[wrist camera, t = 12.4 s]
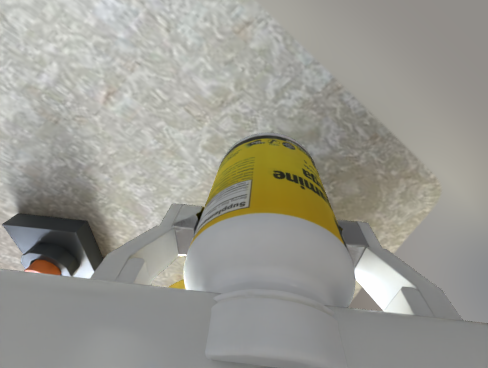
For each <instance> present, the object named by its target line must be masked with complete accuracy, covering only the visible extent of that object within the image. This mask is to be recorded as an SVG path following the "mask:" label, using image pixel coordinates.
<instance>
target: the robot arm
mask: <svg viewBox="0 0 488 368" xmlns="http://www.w3.org/2000/svg"><path fill="white" fill-rule="evenodd" d="M203 210H204V207H203V206H195V205H187V204H177V203H173V204H172V205H171V206H170V208H169V210H168V212H167V213H166V215H165V217H164V218H163V220H162V222H161V224H160V225H159V226H155V227H153V228H151V229H149V230H148V231H146V232H144V233H143V234H141V235H139V236H137V237H136V238H134V239H132V240H131V241H129V242H127V243H125V244H124V245H122V246H120V247H119V248H117V249H115V250H113V251H112V252H110V253H108V254H107V256H106V257H105V258H104V260H103V261H102V262H101V264H100V265H99V266H98V268H97V269H96V270H95V272H94V273H93V275H92V276H91V277H90V279H89V278H80V277H71V276H62V275H53V274H44V273H35V272H26V271H17V270H8V269H0V368H276V367H268V366H260V365H253V364H244V363H235V362H226V361H216V360H211V359H208V358H207V357H206V354H205V350H206V343H207V338H208V332H209V325H210V319H211V308H212V307H213V306H214V305H215V304H217V303H218V302H217V301H216V300H214V297H215V296H217V295H221V293H214V292H205V291H196V290H187V289H178V288H169V287H160V286H152V284H151V282H152V281H153V280H154V279H155V278H156V277H157V276H158V275H159V274H160V273H161V272H162V271H164V270H165V269H166V268H167V267H168V266H169V265H170V264H171V263H172V262H173V261H175V260H176V259H177V258H178V257H179V256H187V253H188V250H189V247H190V245H191V242H192V239H193V237H194V234H195V231H196V229H197V226H198V224H199V221H200V218H201V216H202V213H203ZM337 223H338V225H339V228H340V230H341V231H342V235H343V238H344V241H345V243H346V246H347V248H348V251H349V254H350V256H351V259H352V263H353V267H354V272H355V279H356V280H357V281H358V282H359V283H360V285H361V286H362V287H363V288H364V289H365V290H366V291H367V292H368V293H369V295H370V296H371V297H372V298H373V299H374V300H375V302H376V303H377V304H378V305H379V306H380V307H381V308H382V309H383V311H374V310H364V309H356V308H348V307H339V306H330V305H324V306H326V307H328V308H329V309H331V310H332V311H333V312H334V315H333V316H332V317H333V318H334V319H335V320H337V321H338V331H339V335H340V338H341V343H342V347H343V351H344V355H345V359H346V364H347V368H488V323H480V322H472V321H463V319H462V318H461V317H460V315H459V314H458V312H457V311H456V309H455V308H454V307H453V305H452V304H451V302H450V301H449V300H448V298H447V297H446V295H445V294H444V292H443V291H442V290H441V289H440V288H439V287H437V286H435V285H434V284H433V283H431V282H430V281H429V280H428V279H426V278H425V277H423V276H422V275H421V274H419V273H418V272H417V271H415V270H414V269H412V268H411V267H410V266H409V265H407V264H406V263H404V262H403V261H402V260H400V259H399V258H398V257H396V256H395V255H394V254H392V253H391V252H390V251H388V250H387V249H383V248H382V246H381V245H380V243H379V241H378V239H377V238H376V236H375V234H374V232H373V231H372V229H371V227H370V225H369V224H368V223H367V222H362V221H347V220H337Z"/></svg>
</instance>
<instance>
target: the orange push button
mask: <svg viewBox="0 0 488 368" xmlns="http://www.w3.org/2000/svg"><path fill="white" fill-rule="evenodd" d="M24 271H26V272H35V273H44V274H53V275H60V274H61V271H60V269H59V268H58V267H56V266H55V265H54V264H52V263H50V262H47V261H45V260H39V259H37V260H35V261H34V262H33V263H32V264H31V265H30V266H29V267H28V268H27V269H26V270H24Z"/></svg>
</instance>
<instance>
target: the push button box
mask: <svg viewBox="0 0 488 368" xmlns="http://www.w3.org/2000/svg"><path fill="white" fill-rule="evenodd" d="M2 225H3V226H4V228H5V229H6V231H7V232H8V233H9V235H10V236H11V238H12V239H13V240H14V242H15V243H16V245H17V246H18V248H19V249H20V250H21V252H22V253H23V255H22V257H21V264H22V265H23V266H24V268H25V269H27V268H28V267H29V266H30V265H31V264H32V263H33V262H34V261H35V260H37V259H39V260H45V261H47V262H50V263H52V264H54V265H55V266H56V267H58V268H59V269H60V271H61V274H60V275H62V276H71V277H80V278H89V279H90V277H91V276H92V275H93V273H94V272H95V270H96V269H97V268H98V266H99V265H100V264H101V262H102V261H103V257H102V255H101V253H100V250H99V248H98V246H97V243H96V241H95V239H94V236H93V234H92V232H91V229H90V227H89V224H88V222H87V221H82V220H72V219H63V218H54V217H45V216H35V215H26V214H17V215H15V216H14V217H12V218H11V219H9V220H8V221H6V222H5V223H3V224H2Z"/></svg>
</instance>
